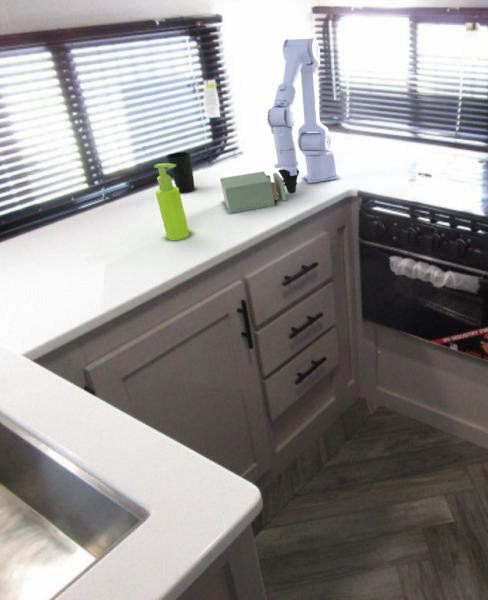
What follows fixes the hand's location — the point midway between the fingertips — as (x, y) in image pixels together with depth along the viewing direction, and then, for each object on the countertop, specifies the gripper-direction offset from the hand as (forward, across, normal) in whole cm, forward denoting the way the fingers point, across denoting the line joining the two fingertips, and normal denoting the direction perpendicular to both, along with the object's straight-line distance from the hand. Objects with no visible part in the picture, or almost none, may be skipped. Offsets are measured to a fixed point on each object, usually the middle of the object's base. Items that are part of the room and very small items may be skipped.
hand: (291, 192), depth 177 cm
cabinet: (+2, -4, -13) cm, 14 cm away
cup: (+3, -29, -30) cm, 42 cm away
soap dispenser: (+3, +13, -35) cm, 37 cm away
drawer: (+1, -4, -6) cm, 7 cm away
